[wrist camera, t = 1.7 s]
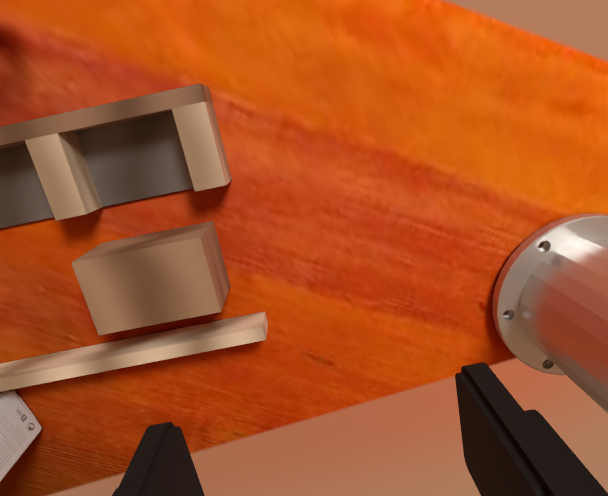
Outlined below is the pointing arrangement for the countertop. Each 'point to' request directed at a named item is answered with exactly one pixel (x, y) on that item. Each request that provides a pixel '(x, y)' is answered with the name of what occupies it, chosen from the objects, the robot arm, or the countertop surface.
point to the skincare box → (15, 430)
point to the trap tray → (113, 190)
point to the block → (154, 278)
